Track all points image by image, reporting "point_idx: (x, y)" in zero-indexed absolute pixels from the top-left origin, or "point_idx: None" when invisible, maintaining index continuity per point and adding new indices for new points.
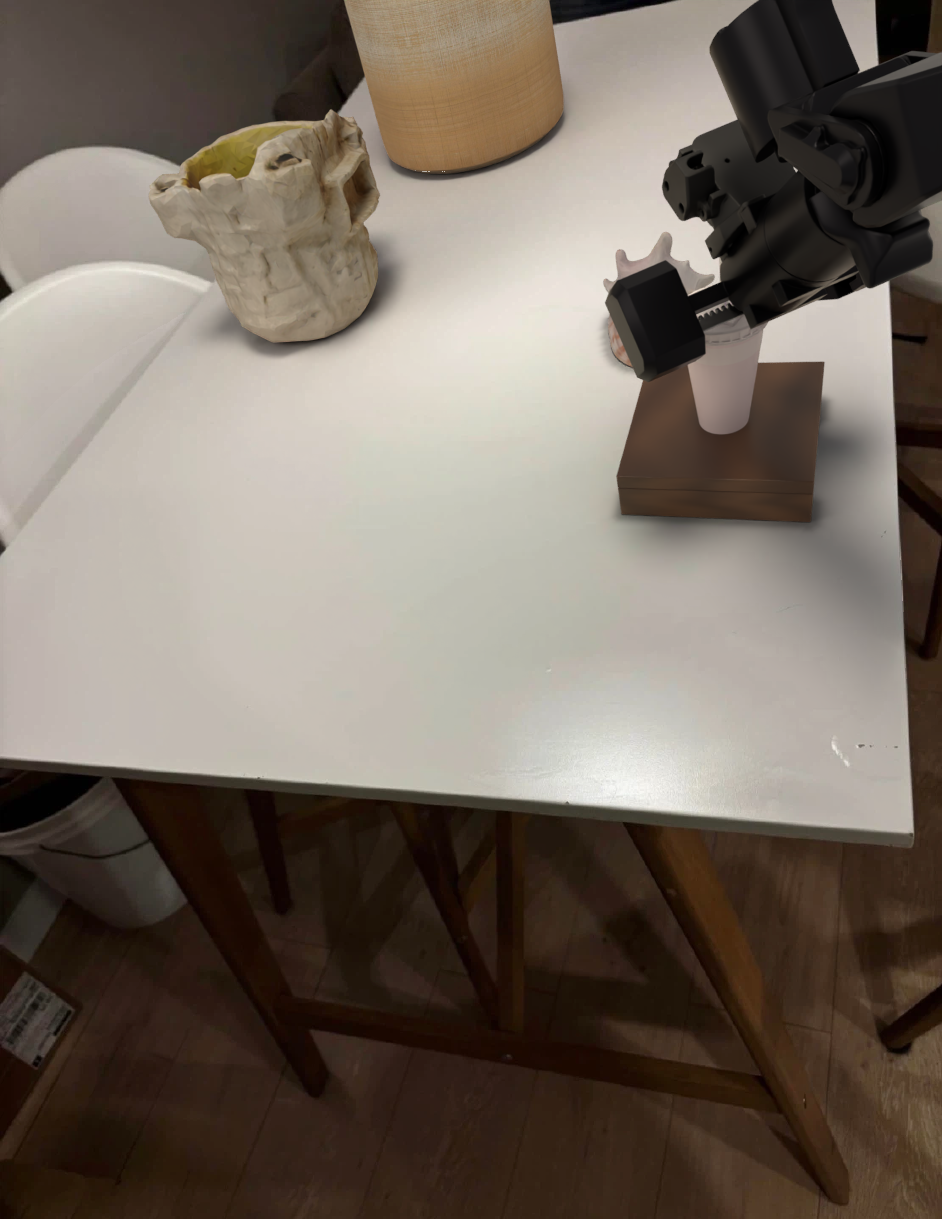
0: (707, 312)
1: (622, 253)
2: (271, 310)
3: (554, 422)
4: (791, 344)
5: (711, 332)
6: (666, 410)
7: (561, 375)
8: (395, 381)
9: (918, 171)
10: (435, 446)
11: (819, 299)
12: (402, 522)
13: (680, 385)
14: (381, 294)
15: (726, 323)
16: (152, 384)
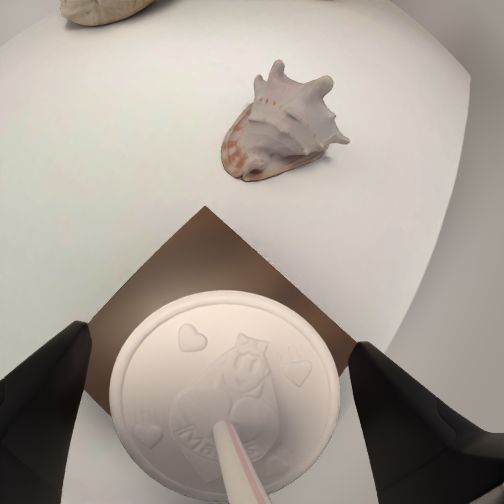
0: (182, 412)
1: (280, 65)
2: (66, 5)
3: (114, 186)
4: (361, 250)
5: (148, 471)
6: (164, 302)
7: (166, 134)
8: (80, 72)
9: None
10: (36, 151)
11: (378, 498)
12: None
13: (209, 271)
14: (150, 11)
15: (195, 471)
16: (24, 31)
